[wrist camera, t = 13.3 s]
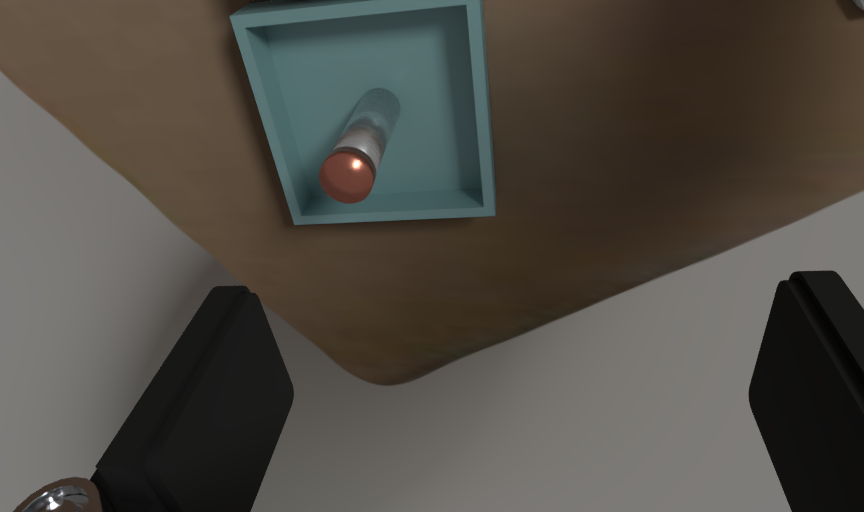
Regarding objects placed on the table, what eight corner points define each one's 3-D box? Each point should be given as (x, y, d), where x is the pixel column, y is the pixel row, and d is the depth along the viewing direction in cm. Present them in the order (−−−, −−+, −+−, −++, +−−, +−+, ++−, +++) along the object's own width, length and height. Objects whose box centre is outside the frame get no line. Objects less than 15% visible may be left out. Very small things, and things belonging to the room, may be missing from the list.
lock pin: (398, 84, 42) (366, 153, 33) (404, 126, 44) (376, 202, 35) (355, 88, 43) (313, 157, 34) (363, 129, 44) (325, 204, 36)
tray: (481, -24, 38) (478, -12, 35) (496, 192, 47) (495, 215, 44) (249, 2, 40) (229, 16, 38) (306, 202, 50) (294, 224, 47)
